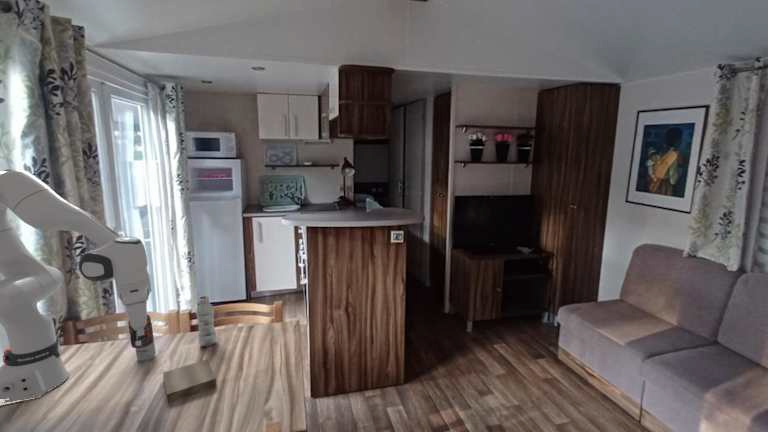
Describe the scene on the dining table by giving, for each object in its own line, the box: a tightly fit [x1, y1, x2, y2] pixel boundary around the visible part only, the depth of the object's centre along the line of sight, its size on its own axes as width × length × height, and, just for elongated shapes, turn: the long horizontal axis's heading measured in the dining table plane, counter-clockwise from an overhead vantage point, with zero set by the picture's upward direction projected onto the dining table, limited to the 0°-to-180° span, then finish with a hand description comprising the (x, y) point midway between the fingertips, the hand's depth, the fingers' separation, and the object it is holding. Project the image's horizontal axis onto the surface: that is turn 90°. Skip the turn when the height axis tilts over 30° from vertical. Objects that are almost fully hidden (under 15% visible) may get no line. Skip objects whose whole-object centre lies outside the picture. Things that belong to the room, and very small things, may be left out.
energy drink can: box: [135, 322, 156, 363], centre depth 140 cm, size 6×6×15 cm
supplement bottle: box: [127, 314, 154, 349], centre depth 117 cm, size 6×6×11 cm
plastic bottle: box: [195, 295, 218, 347], centre depth 149 cm, size 6×7×20 cm
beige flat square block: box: [162, 359, 217, 404], centre depth 125 cm, size 14×14×3 cm
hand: (140, 330), depth 117 cm, fingers closed on supplement bottle, 6 cm apart
